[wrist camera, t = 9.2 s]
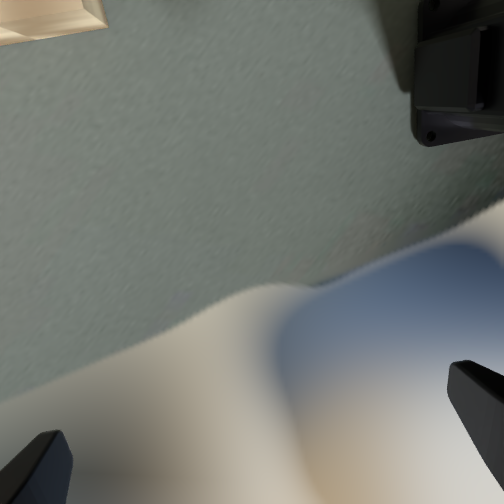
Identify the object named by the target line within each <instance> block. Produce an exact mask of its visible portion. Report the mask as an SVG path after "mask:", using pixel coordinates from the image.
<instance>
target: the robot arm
mask: <svg viewBox="0 0 504 504" xmlns="http://www.w3.org/2000/svg"><path fill="white" fill-rule="evenodd" d="M432 1H433V2H434V4H435V7H434V10H433V11H431V10H430V9H429V6H428V5H429V2H430V0H421V1H420V3H419V7H418V45H417V47H416V48H415V69H414V105H415V107H416V108H417V140H418V142H419V144H420V145H422V146H426V147H432V146H438V145H443V144H448V143H454V142H459V141H464V140H469V139H475V138H480V137H485V136H491V135H496V134H501V133H504V0H432ZM430 131H431V134H432V136H431V138H430V139H429V140H428V141H427V139H426V136H427V134H428V132H430ZM447 393H448V397H449V399H450V401H451V403H452V405H453V407H454V408H455V410H456V412H457V414H458V416H459V418H460V419H461V421H462V423H463V425H464V427H465V428H466V430H467V432H468V434H469V435H470V437H471V439H472V441H473V443H474V445H475V446H476V448H477V450H478V452H479V454H480V455H481V457H482V459H483V460H484V462H485V464H486V465H487V467H488V468H489V470H490V471H491V473H492V474H493V476H494V477H495V479H496V480H497V481H498V483H499V484H500V486H501V487H502V489H503V491H504V376H503V375H501V374H499V373H497V372H494V371H492V370H490V369H488V368H486V367H484V366H482V365H479V364H477V363H475V362H473V361H471V360H463V361H457V362H453V363H452V364H451V365H450V368H449V376H448V384H447ZM72 468H73V455H72V452H71V450H70V448H69V445H68V443H67V440H66V438H65V436H64V433H63V432H62V431H61V430H52V431H46V432H42V433H40V434H39V435H38V436H36V437H35V438H34V439H33V440H32V441H31V442H30V443H29V444H28V445H27V446H26V447H25V448H24V449H23V450H22V451H21V452H20V453H18V454H17V455H16V456H15V458H13V459H12V460H11V461H10V462H9V463H8V464H7V465H6V466H5V467H4V468H3V469H2V470H1V471H0V504H66V500H67V495H68V490H69V485H70V480H71V474H72Z"/></svg>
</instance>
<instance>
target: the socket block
mask: <svg viewBox="0 0 504 504" xmlns="http://www.w3.org/2000/svg"><path fill="white" fill-rule="evenodd" d="M104 28H109V26H108V22H107V18H106V15H105V11H104V7H103V4H102V0H0V46H2V45H8V44H14V43H20V42H26V41H32V40H38V39H44V38H50V37H56V36H62V35H68V34H74V33H80V32H86V31H92V30H98V29H104Z"/></svg>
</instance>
